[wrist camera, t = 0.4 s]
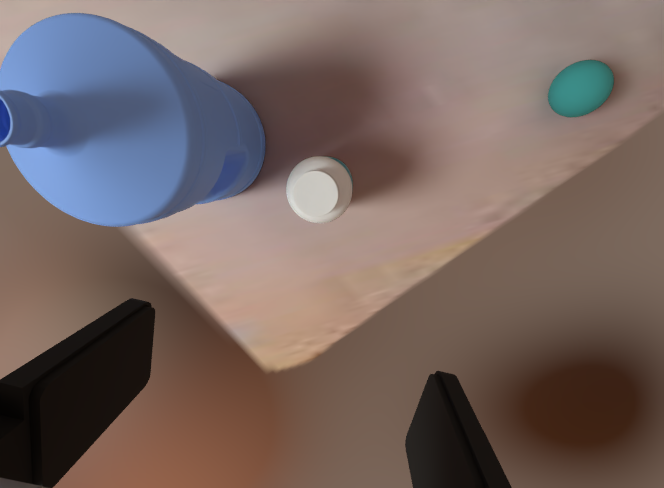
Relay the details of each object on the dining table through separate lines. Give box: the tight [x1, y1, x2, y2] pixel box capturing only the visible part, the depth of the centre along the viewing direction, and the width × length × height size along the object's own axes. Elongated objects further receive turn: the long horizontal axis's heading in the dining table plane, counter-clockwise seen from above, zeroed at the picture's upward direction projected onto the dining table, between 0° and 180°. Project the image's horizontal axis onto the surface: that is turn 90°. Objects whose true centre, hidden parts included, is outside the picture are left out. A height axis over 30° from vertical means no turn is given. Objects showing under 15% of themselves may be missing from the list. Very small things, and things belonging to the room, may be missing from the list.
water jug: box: [0, 13, 265, 227], centre depth 30 cm, size 16×16×28 cm
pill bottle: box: [286, 156, 353, 223], centre depth 37 cm, size 8×7×14 cm
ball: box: [548, 60, 614, 117], centre depth 36 cm, size 6×6×6 cm
